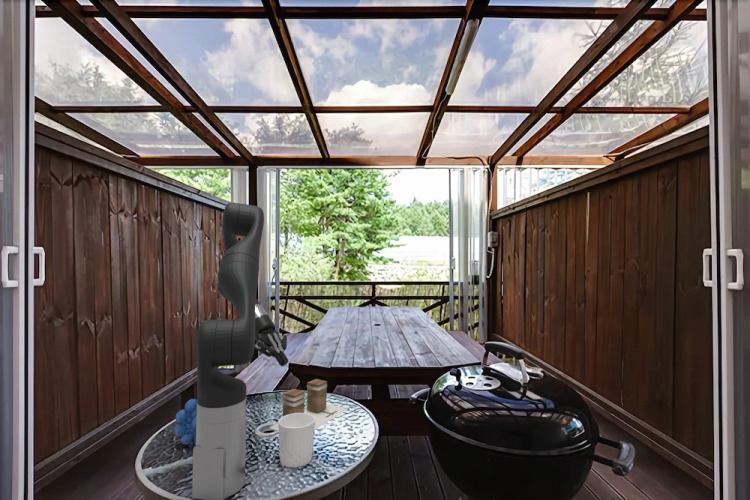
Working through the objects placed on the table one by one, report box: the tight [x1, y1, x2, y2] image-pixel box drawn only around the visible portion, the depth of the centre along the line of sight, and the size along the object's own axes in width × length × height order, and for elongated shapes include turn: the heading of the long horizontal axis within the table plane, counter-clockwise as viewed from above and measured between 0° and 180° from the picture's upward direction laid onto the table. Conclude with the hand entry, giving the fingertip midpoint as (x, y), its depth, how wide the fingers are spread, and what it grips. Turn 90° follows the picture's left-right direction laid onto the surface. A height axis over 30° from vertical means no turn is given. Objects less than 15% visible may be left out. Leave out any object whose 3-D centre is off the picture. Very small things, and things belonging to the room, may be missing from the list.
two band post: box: [281, 388, 306, 417], centre depth 100 cm, size 4×4×8 cm
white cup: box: [278, 413, 315, 468], centre depth 82 cm, size 8×8×10 cm
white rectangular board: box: [269, 403, 349, 432], centre depth 104 cm, size 11×21×2 cm, turn 150°
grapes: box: [173, 398, 197, 446], centre depth 92 cm, size 12×7×12 cm, turn 95°
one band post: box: [306, 378, 328, 413], centre depth 109 cm, size 4×4×8 cm
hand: (285, 364), depth 115 cm, fingers closed
